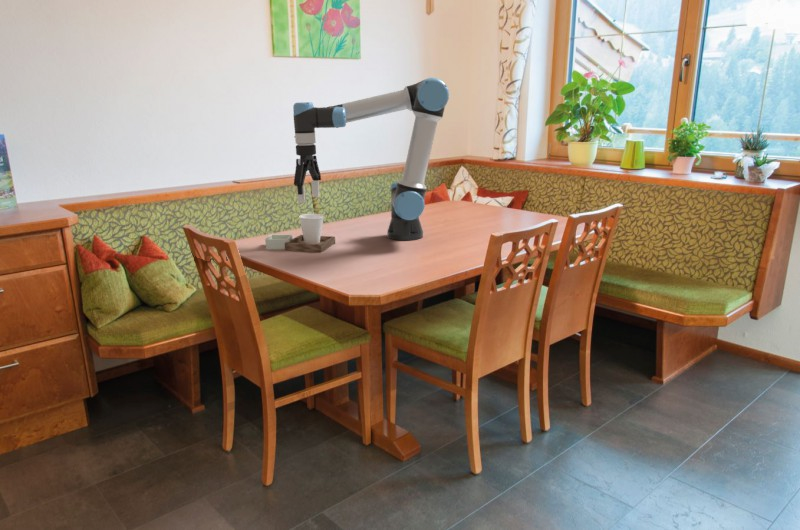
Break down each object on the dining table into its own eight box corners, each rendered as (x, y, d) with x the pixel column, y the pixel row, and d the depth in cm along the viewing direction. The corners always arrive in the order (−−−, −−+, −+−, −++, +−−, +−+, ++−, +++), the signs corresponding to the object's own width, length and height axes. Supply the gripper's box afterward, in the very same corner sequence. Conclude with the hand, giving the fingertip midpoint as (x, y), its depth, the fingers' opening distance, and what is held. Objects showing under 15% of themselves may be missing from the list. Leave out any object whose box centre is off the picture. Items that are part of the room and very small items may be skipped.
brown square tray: (335, 243, 245) (334, 236, 245) (321, 252, 232) (320, 245, 231) (301, 241, 249) (300, 234, 249) (285, 250, 235) (284, 243, 235)
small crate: (293, 243, 245) (292, 234, 244) (289, 249, 236) (288, 239, 235) (270, 244, 245) (270, 234, 244) (266, 249, 236) (265, 239, 235)
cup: (320, 246, 237) (320, 219, 234) (296, 245, 238) (295, 218, 235) (327, 240, 247) (326, 214, 243) (303, 239, 248) (303, 213, 245)
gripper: (309, 141, 242) (312, 194, 248) (281, 147, 219) (286, 205, 225) (327, 141, 240) (330, 194, 246) (301, 147, 217) (304, 205, 223)
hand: (309, 199), depth 235 cm, fingers open, 13 cm apart
